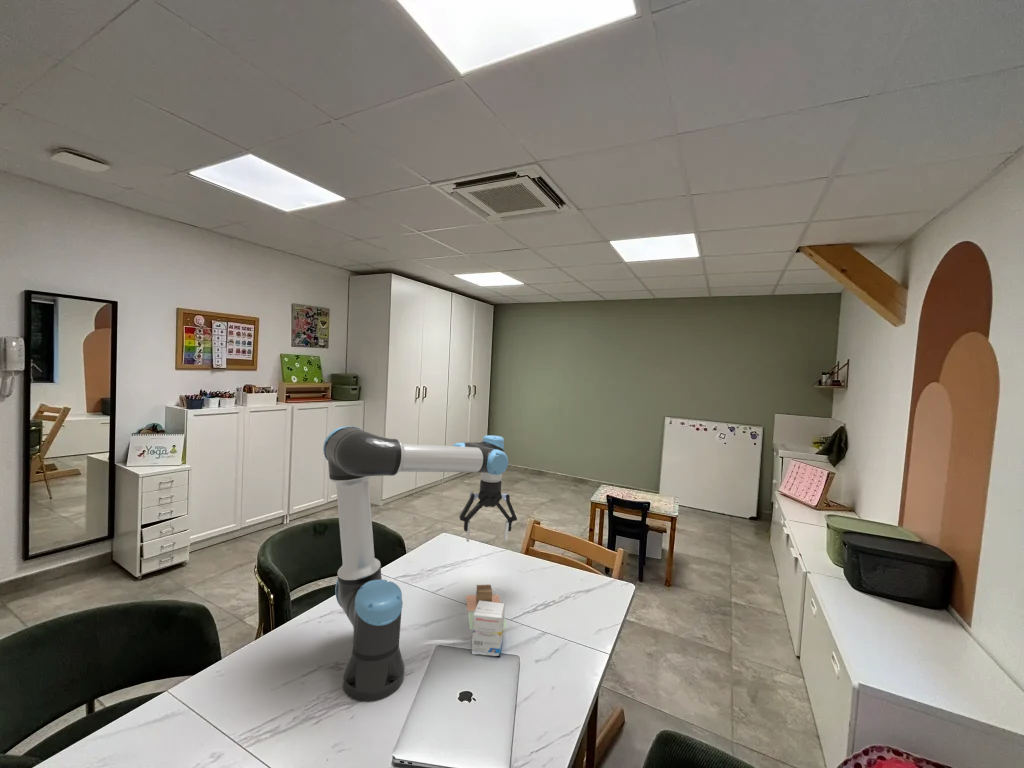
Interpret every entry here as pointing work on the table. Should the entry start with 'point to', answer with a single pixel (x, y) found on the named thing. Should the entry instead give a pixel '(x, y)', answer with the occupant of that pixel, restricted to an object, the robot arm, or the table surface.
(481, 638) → the ink box
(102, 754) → the table surface
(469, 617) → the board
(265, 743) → the table surface
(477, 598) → the walnut block
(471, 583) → the table surface
